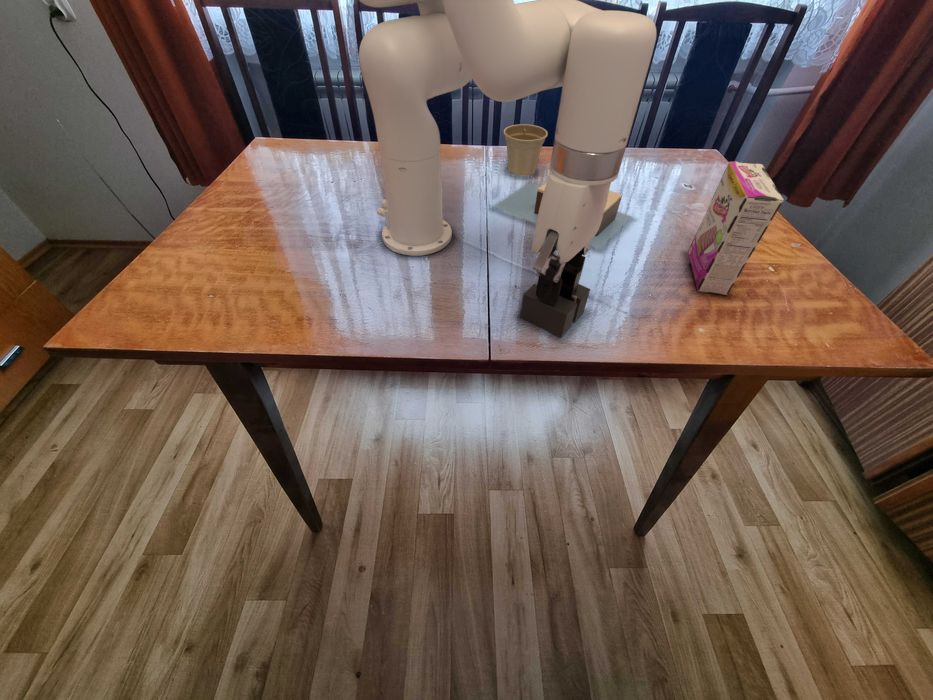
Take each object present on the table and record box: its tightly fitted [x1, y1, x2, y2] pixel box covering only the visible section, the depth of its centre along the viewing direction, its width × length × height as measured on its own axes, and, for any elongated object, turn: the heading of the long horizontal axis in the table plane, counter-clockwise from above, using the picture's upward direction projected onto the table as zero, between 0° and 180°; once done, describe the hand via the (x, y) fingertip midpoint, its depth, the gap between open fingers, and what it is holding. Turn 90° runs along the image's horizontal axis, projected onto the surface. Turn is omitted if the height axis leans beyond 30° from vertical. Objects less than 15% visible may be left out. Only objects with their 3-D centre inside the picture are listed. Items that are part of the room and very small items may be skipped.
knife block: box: [519, 283, 591, 339], centre depth 61 cm, size 7×7×4 cm
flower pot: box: [503, 123, 549, 177], centre depth 92 cm, size 9×9×9 cm
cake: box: [595, 189, 623, 236], centre depth 78 cm, size 8×8×5 cm
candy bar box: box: [687, 160, 785, 296], centre depth 64 cm, size 11×5×16 cm, turn 168°
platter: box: [493, 181, 632, 249], centre depth 83 cm, size 23×14×1 cm, turn 52°
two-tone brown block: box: [534, 182, 547, 214], centre depth 81 cm, size 4×8×5 cm, turn 142°
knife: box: [549, 260, 583, 303], centre depth 59 cm, size 6×2×9 cm, turn 52°
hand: (558, 286), depth 59 cm, fingers open, 5 cm apart
